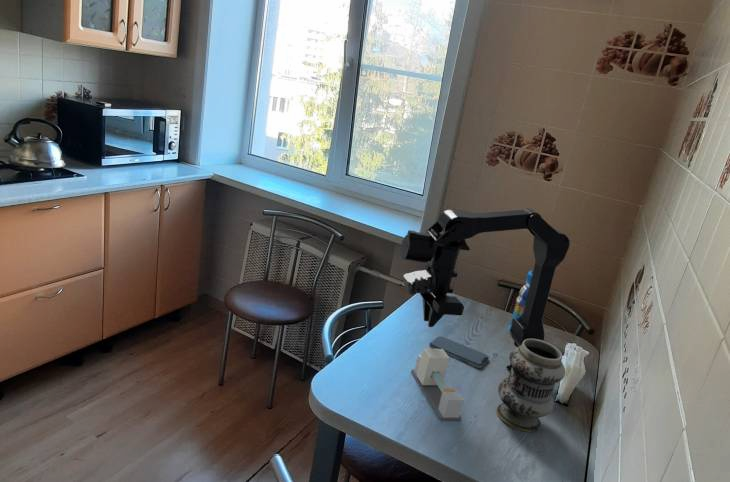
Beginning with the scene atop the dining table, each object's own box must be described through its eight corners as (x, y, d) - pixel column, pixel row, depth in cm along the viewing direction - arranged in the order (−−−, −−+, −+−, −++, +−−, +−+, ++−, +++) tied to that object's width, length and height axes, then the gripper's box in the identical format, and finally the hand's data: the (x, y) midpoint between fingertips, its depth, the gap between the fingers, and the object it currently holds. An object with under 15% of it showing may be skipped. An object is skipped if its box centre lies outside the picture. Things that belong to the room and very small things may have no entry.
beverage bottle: (515, 325, 165) (533, 267, 159) (539, 337, 160) (559, 278, 154) (502, 331, 159) (520, 271, 153) (526, 344, 154) (546, 282, 148)
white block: (435, 375, 125) (442, 348, 123) (442, 385, 121) (449, 358, 119) (416, 375, 123) (423, 348, 121) (422, 385, 120) (429, 357, 118)
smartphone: (439, 334, 147) (490, 355, 140) (438, 340, 148) (488, 360, 141) (428, 343, 141) (480, 365, 134) (427, 348, 141) (479, 371, 134)
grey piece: (429, 372, 128) (434, 353, 126) (460, 420, 112) (466, 399, 110) (411, 372, 126) (415, 353, 125) (439, 420, 110) (445, 399, 109)
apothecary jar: (523, 441, 109) (549, 367, 103) (480, 407, 118) (502, 337, 112) (556, 427, 116) (582, 357, 111) (514, 396, 125) (535, 330, 120)
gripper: (398, 246, 127) (385, 304, 132) (426, 278, 110) (410, 342, 115) (440, 251, 131) (425, 306, 135) (472, 281, 114) (455, 344, 118)
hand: (428, 323), depth 126 cm, fingers open, 3 cm apart
